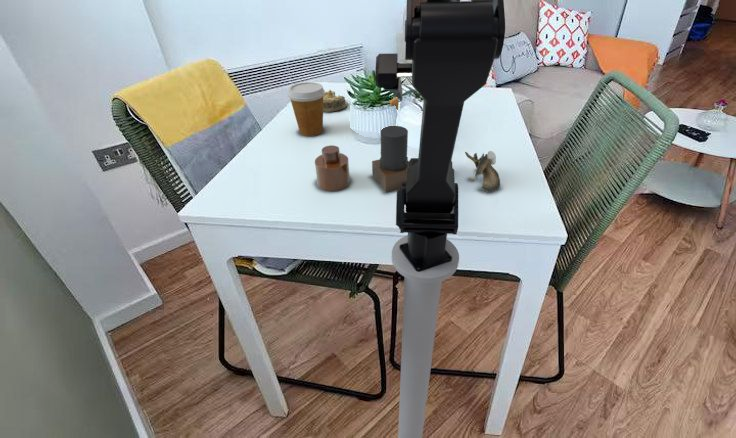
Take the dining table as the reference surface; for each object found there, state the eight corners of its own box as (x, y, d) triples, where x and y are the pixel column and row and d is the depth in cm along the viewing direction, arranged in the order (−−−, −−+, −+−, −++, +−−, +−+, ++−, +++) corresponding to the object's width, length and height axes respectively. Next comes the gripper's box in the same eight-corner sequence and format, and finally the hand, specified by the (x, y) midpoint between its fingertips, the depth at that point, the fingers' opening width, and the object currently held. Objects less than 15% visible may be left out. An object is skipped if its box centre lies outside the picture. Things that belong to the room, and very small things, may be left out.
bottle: (354, 186, 80) (352, 152, 75) (323, 194, 78) (319, 160, 73) (343, 171, 85) (340, 139, 81) (313, 178, 83) (309, 145, 79)
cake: (328, 117, 113) (325, 99, 109) (310, 108, 119) (306, 92, 115) (354, 105, 117) (352, 88, 114) (335, 98, 123) (332, 81, 120)
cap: (411, 167, 78) (412, 133, 74) (387, 173, 76) (387, 139, 72) (399, 156, 82) (400, 123, 78) (376, 161, 80) (376, 128, 76)
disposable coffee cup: (306, 122, 109) (300, 79, 101) (335, 127, 105) (331, 83, 98) (286, 135, 102) (279, 91, 95) (316, 141, 98) (311, 95, 91)
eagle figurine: (453, 167, 83) (466, 181, 75) (473, 139, 81) (488, 151, 73) (480, 183, 85) (495, 198, 77) (500, 156, 83) (518, 169, 75)
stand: (415, 184, 80) (416, 168, 78) (385, 192, 78) (385, 176, 76) (400, 170, 85) (401, 154, 83) (372, 177, 83) (371, 160, 81)
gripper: (486, 0, 63) (469, 66, 78) (376, 2, 65) (379, 67, 80) (490, 53, 60) (471, 112, 74) (372, 54, 61) (377, 111, 76)
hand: (424, 99), depth 76 cm, fingers open, 9 cm apart
